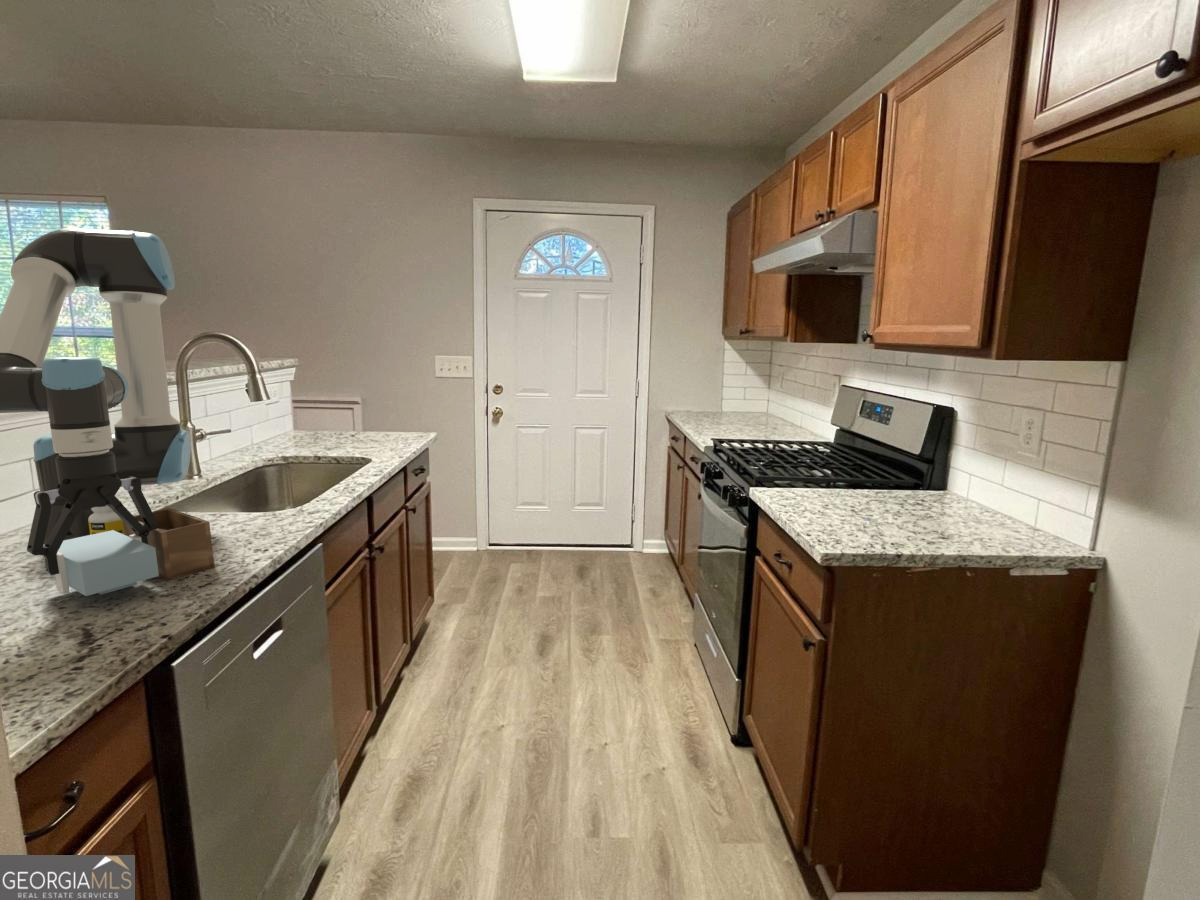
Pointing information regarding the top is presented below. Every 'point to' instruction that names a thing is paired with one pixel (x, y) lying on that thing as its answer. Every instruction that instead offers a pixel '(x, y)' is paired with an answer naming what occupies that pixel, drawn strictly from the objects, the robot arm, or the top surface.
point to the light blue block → (107, 562)
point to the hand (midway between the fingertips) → (103, 580)
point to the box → (179, 543)
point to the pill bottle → (105, 520)
